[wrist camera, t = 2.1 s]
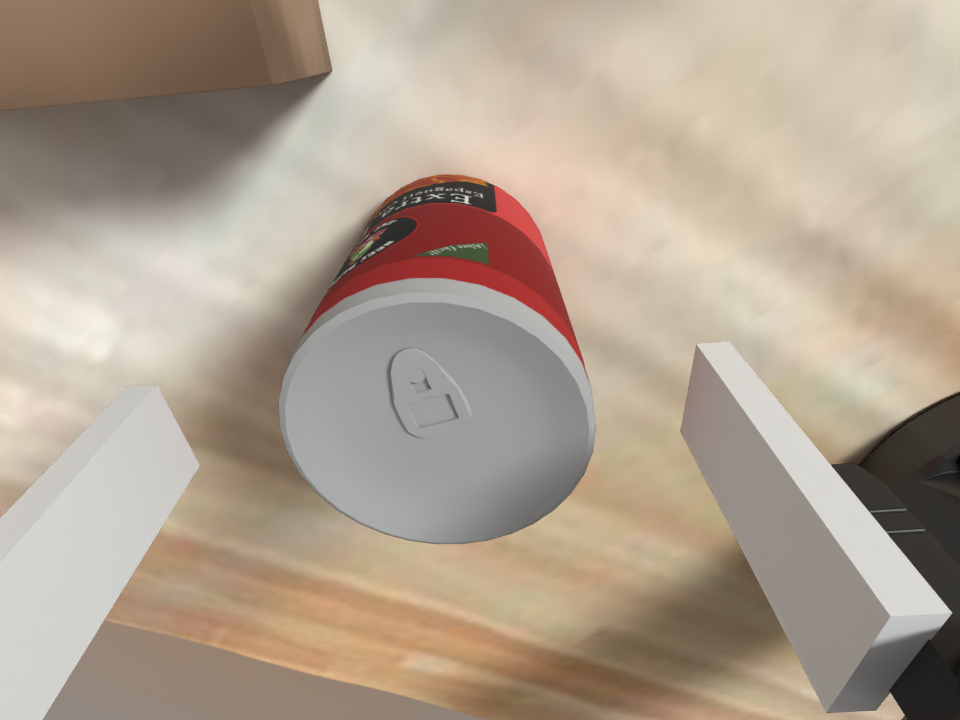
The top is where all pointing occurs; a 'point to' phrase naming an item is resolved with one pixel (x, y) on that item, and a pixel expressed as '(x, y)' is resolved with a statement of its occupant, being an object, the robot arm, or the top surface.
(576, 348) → the canned food
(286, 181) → the top surface
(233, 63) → the walnut stand
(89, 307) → the top surface
